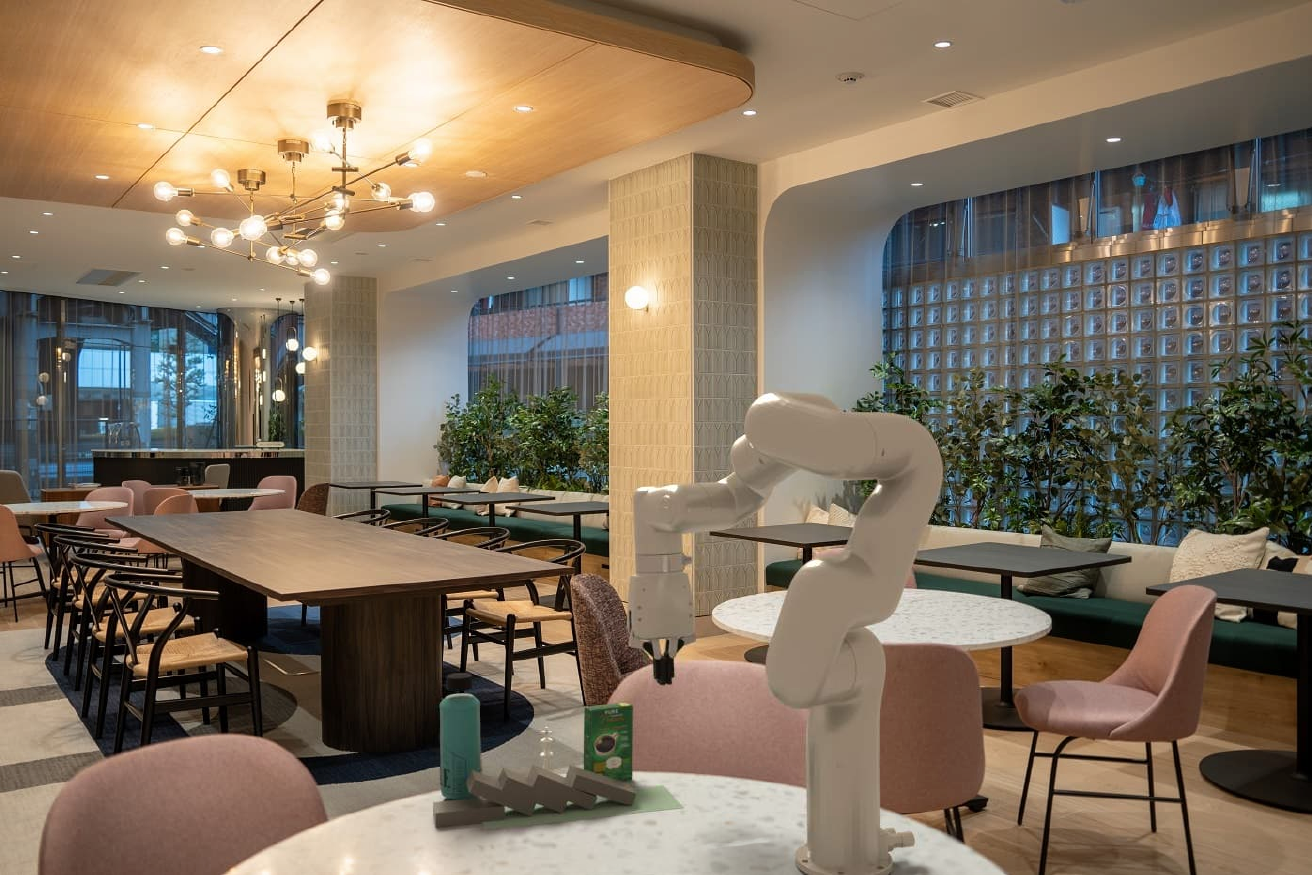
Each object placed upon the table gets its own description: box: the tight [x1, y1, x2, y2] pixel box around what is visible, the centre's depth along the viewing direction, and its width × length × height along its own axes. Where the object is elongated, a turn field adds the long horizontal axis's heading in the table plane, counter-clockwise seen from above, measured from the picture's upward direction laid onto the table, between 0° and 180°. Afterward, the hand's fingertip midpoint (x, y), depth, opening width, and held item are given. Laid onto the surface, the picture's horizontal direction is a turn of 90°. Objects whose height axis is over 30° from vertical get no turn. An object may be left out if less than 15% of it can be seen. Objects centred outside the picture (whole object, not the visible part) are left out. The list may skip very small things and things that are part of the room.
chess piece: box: [539, 726, 554, 772], centre depth 168 cm, size 5×5×10 cm
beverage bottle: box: [439, 672, 483, 800], centre depth 162 cm, size 6×7×20 cm
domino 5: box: [564, 764, 636, 806], centre depth 159 cm, size 2×5×10 cm
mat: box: [481, 784, 684, 831], centre depth 158 cm, size 30×11×1 cm, turn 106°
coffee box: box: [583, 701, 634, 783], centre depth 170 cm, size 8×3×13 cm, turn 119°
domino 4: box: [527, 764, 597, 810], centre depth 157 cm, size 2×5×10 cm
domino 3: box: [497, 767, 568, 814], centre depth 156 cm, size 2×5×10 cm
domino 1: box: [432, 797, 505, 828], centre depth 153 cm, size 2×5×10 cm
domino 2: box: [466, 770, 536, 816], centre depth 155 cm, size 2×5×10 cm
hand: (664, 683), depth 161 cm, fingers closed
